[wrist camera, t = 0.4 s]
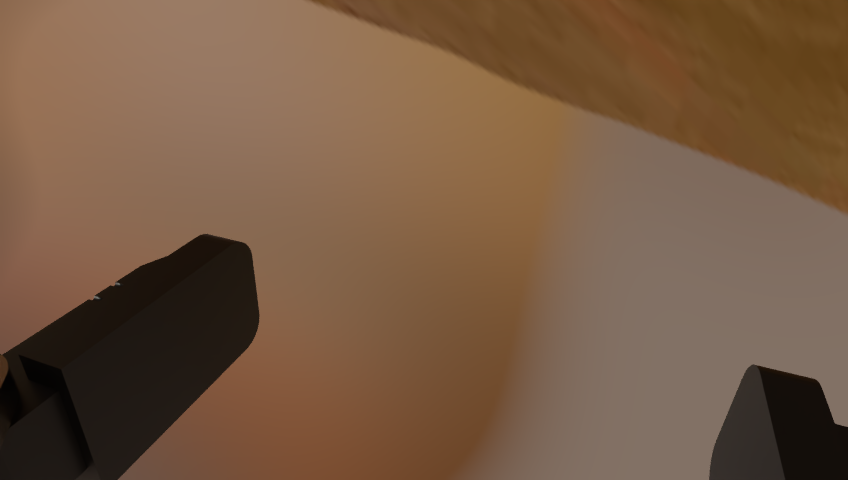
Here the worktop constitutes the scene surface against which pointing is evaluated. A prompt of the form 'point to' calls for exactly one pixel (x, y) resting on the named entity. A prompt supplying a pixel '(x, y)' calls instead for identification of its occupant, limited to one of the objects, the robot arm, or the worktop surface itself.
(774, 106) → the worktop surface
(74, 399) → the robot arm
